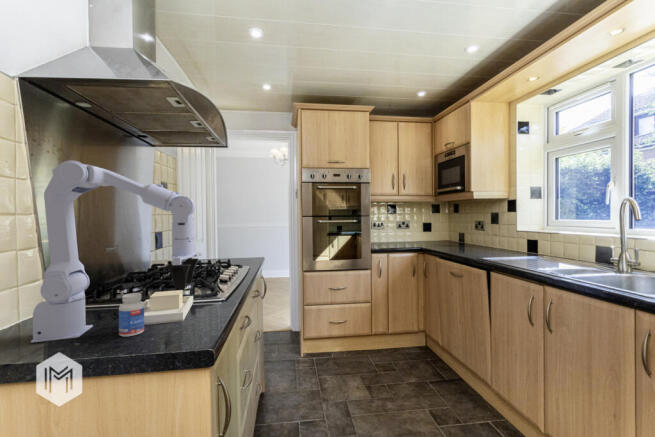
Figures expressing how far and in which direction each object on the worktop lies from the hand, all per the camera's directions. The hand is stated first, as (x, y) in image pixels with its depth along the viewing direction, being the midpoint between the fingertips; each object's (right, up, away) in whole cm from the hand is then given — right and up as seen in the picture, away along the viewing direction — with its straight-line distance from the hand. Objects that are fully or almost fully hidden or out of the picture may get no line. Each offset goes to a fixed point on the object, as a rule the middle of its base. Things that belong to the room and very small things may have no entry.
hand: (183, 286), depth 82 cm
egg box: (-11, -9, +11) cm, 18 cm away
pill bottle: (-9, -10, -8) cm, 16 cm away
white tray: (-9, -10, +6) cm, 15 cm away
